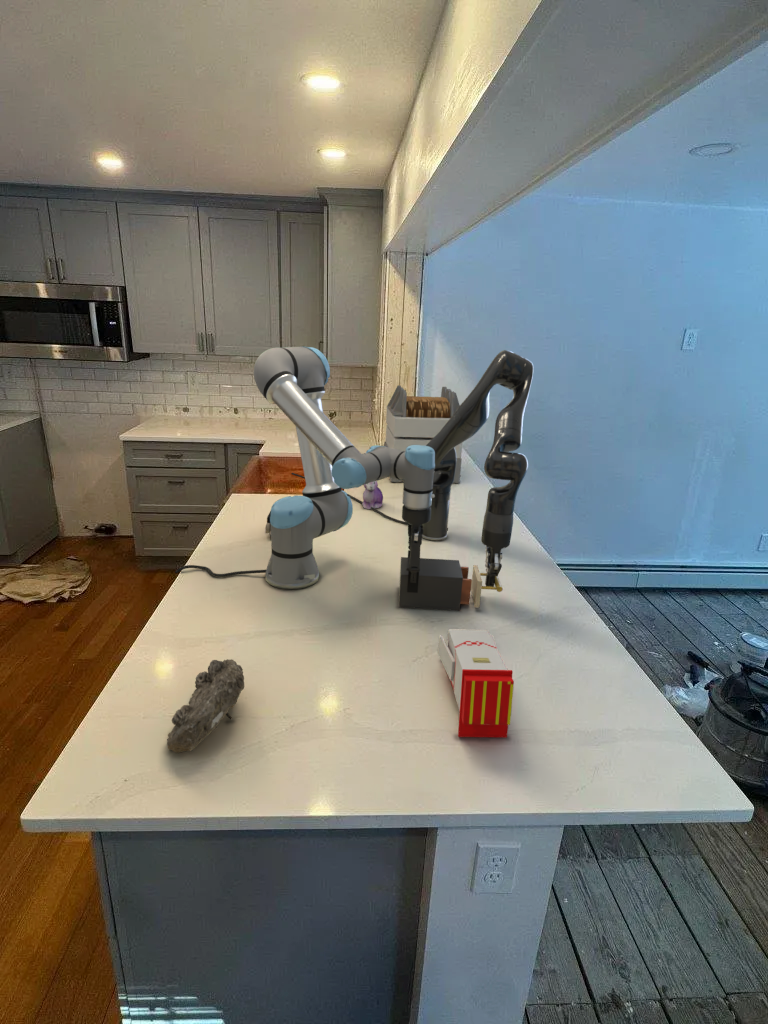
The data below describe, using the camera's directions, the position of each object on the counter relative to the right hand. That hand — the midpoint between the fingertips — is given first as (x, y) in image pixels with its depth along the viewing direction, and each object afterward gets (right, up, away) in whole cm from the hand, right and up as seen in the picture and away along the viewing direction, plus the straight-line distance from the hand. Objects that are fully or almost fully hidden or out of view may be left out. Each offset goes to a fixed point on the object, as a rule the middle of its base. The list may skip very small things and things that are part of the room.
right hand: (489, 586), depth 154 cm
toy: (-11, -18, -35) cm, 41 cm away
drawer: (-8, -3, +2) cm, 9 cm away
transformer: (-11, +39, +121) cm, 128 cm away
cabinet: (-16, -4, +2) cm, 17 cm away
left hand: (-21, +1, 0) cm, 21 cm away
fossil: (-61, -19, -46) cm, 79 cm away
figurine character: (-65, +13, +43) cm, 79 cm away
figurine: (-33, +22, +73) cm, 83 cm away
